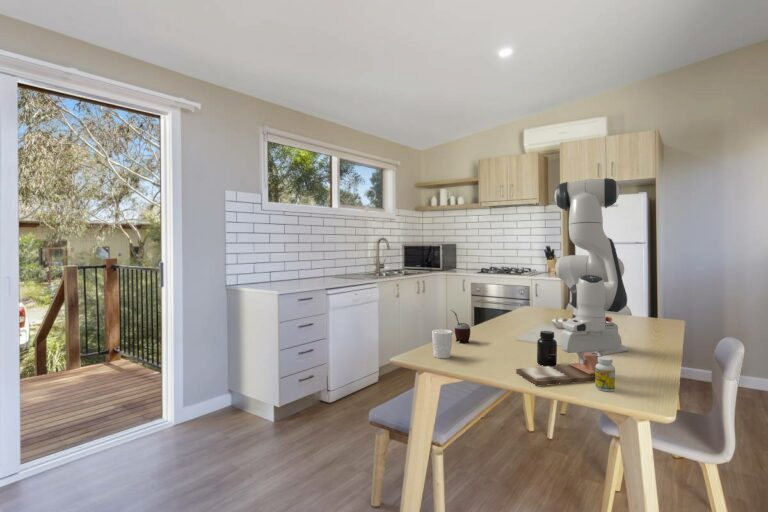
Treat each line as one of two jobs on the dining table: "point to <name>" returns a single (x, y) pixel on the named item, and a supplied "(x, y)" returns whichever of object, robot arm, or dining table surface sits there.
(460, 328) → the mate gourd
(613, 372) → the supplement bottle
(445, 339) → the white cup
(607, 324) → the robot arm
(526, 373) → the ticket board
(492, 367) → the dining table surface
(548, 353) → the supplement bottle
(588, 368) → the stub
